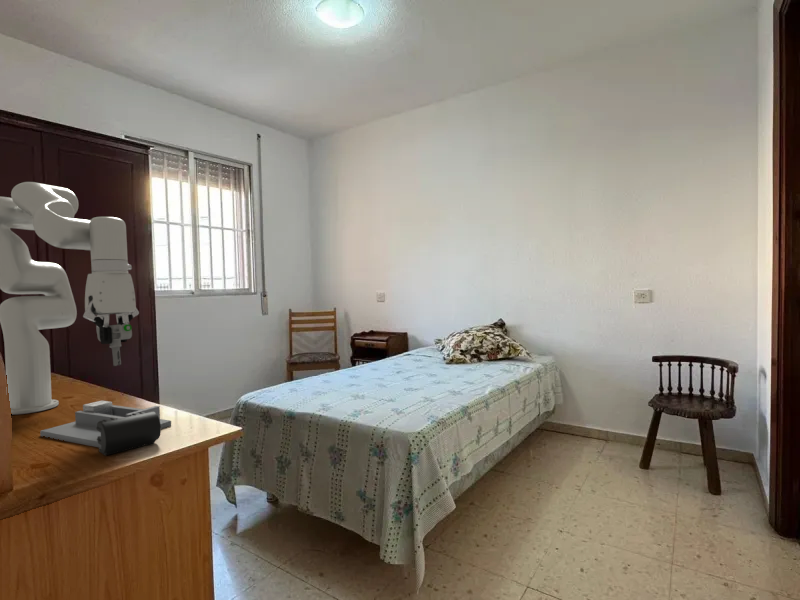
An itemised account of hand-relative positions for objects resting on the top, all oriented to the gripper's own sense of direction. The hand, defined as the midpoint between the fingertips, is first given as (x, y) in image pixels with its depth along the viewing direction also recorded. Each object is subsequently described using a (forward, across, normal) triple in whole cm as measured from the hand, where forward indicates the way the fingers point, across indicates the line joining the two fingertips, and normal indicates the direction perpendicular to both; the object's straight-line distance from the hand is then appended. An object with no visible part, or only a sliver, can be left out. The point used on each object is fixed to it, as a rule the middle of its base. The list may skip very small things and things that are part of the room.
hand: (114, 342), depth 108 cm
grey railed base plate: (+20, +5, +4) cm, 21 cm away
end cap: (+21, +11, +20) cm, 31 cm away
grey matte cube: (+19, +3, -3) cm, 19 cm away
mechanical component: (+6, 0, +1) cm, 6 cm away
